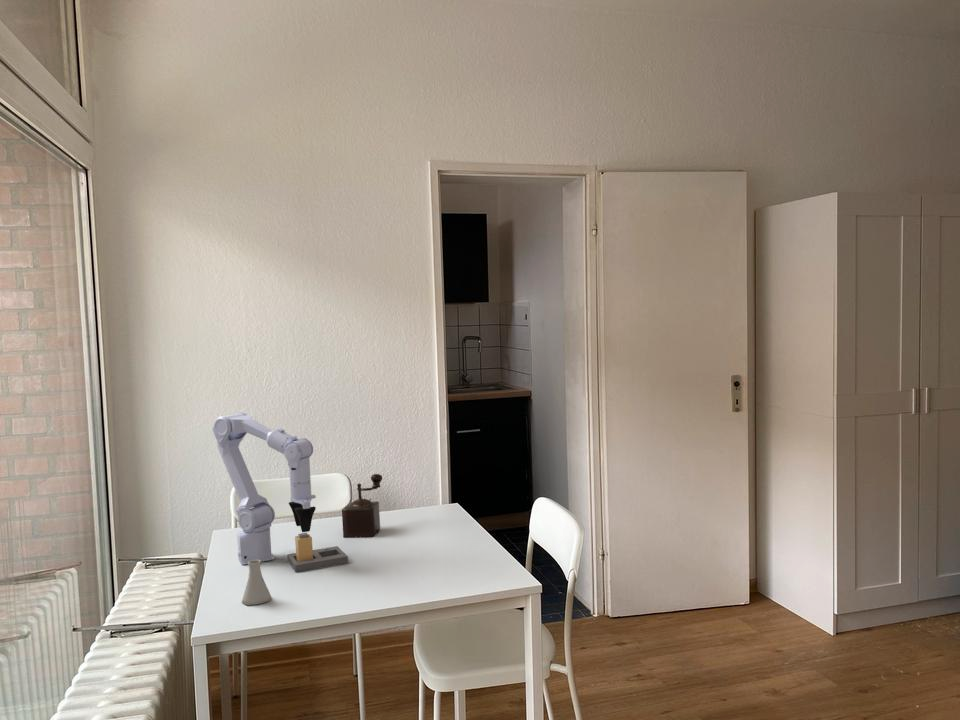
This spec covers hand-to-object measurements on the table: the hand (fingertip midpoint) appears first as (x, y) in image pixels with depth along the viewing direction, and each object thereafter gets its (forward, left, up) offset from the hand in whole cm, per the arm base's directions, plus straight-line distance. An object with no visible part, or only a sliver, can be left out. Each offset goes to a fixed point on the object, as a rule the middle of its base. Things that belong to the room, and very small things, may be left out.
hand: (303, 528), depth 217 cm
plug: (0, 0, -10) cm, 10 cm away
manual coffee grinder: (+25, +25, -11) cm, 37 cm away
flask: (-17, -23, -11) cm, 31 cm away
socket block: (+4, 0, -10) cm, 11 cm away
